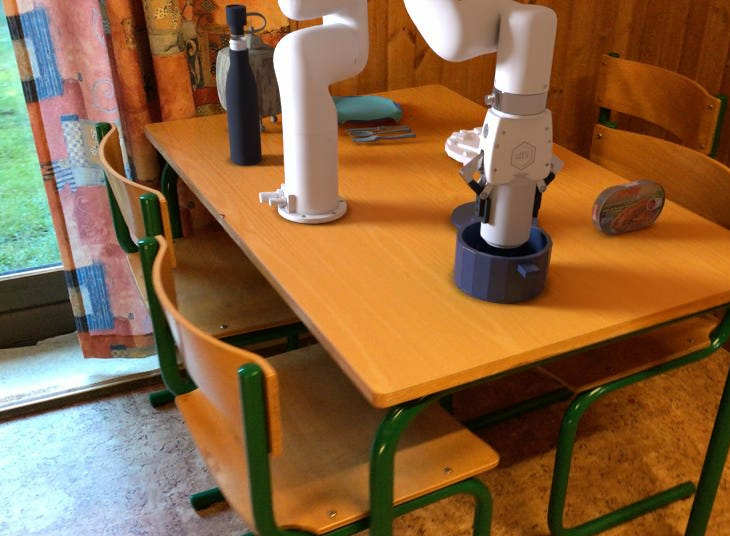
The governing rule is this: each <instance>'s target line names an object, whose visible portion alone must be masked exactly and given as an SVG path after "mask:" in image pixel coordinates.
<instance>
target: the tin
mask: <svg viewBox="0 0 730 536" xmlns="http://www.w3.org/2000/svg"><path fill="white" fill-rule="evenodd" d="M665 204H666V192H665V188H664V187H663V185H662V184H660V183H659V182H656V181H652V180H649V179H640V180H635V181H631V182H626V183H622V184H617V185H611V186H609V187H607V188H605V189H604V190H602V191H601V192H600V193H599V194H598V195H597V197H596V198H595V200H594V202H593V205H592V210H591V222H592V225H593V226H594V227H595V228H596V229H597V230H599V231H600V232H602V233H603V234H605V235H607V236H616V235H619V234H623V233H626V232H631V231H635V230H639V229H640V230H641V229H643V228H647V227H649V226H651V225H652V224H653V223H655V222H656V220H657V219H658V218H659V217H660V215H661V214H662V212H663V209H664V207H665Z"/></svg>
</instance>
